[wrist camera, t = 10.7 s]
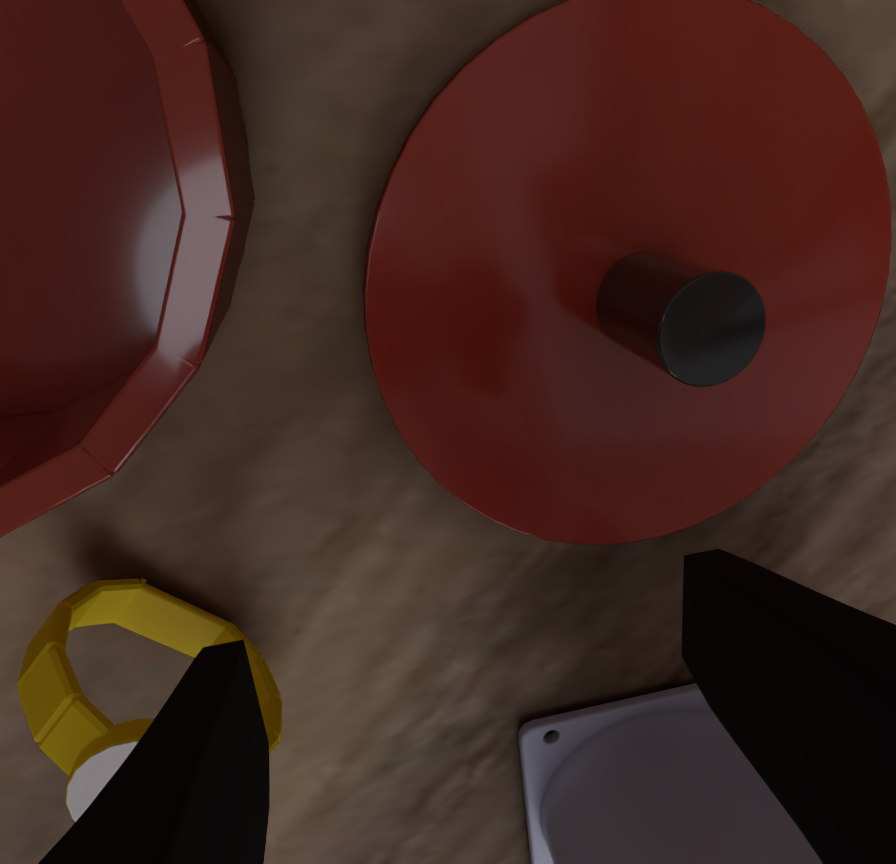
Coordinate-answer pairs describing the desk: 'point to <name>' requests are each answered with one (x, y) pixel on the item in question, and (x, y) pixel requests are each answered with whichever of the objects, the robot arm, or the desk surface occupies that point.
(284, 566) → the desk surface
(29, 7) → the pot
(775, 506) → the desk surface
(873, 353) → the desk surface
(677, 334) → the lid
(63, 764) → the watch
